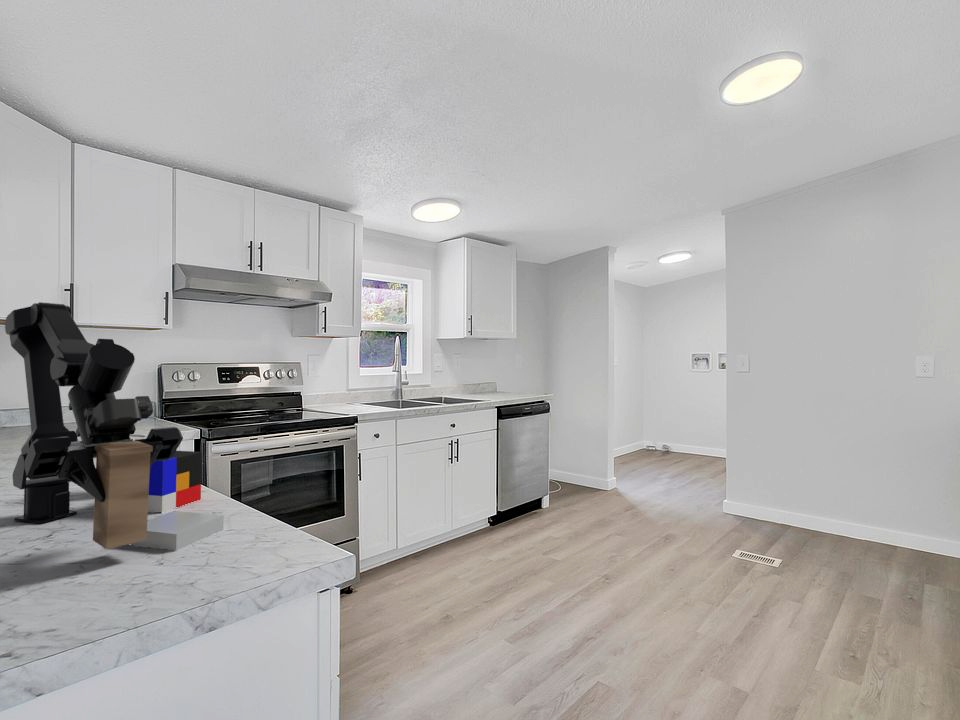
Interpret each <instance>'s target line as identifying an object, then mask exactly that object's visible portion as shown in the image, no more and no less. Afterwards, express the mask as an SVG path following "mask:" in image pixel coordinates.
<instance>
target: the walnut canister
mask: <svg viewBox="0 0 960 720" xmlns="http://www.w3.org/2000/svg"><path fill="white" fill-rule="evenodd" d="M95 451H97V457H96V458H95V461H96V462H95V468H96V470H97V473H98V475H99V478H100V480H101V483H102V485H103V488H104V492H105V496H106V498H105V500H104V502H99V501H98V500H97V499H96V498H94V501H93V502H94V503H93V504H94V505H93V525H92V526H93V529H92V541H93V542H95V543H96V544H97V545H99V546H101V548H104V549H105V550H110V549H113V548H119V547H122V546H128V545H127V544H131V543H135V542H139V541H143V540H146V538H147V520H148V513H149V512H148V495H149V474H150V452H153V446H151V445H148V444H145V443H142V442H139V441H130V442H119V443H109V444H99V445H95Z"/></svg>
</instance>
